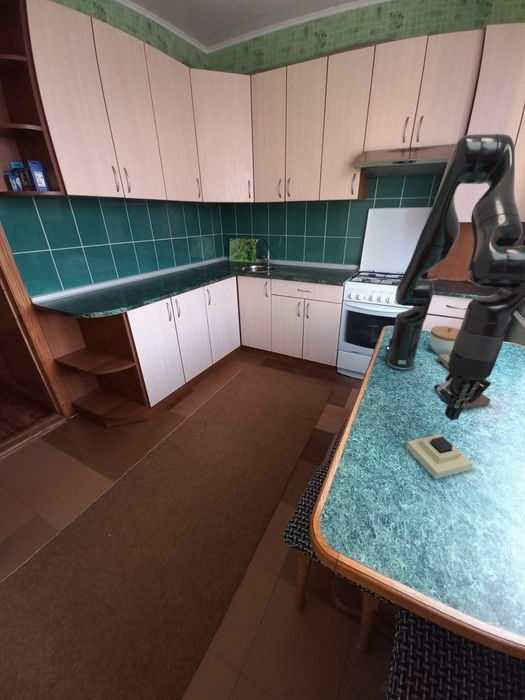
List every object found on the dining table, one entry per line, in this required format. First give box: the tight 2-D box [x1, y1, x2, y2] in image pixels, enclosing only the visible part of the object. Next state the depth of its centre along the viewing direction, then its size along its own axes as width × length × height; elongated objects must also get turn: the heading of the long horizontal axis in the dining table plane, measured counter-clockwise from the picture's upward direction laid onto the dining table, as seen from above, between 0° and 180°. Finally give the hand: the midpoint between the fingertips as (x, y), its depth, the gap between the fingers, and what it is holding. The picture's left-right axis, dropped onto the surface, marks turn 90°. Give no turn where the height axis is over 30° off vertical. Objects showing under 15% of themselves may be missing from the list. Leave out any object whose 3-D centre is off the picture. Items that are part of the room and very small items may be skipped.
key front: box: [430, 436, 454, 454], centre depth 70 cm, size 3×3×2 cm
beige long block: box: [436, 354, 487, 380], centre depth 107 cm, size 16×8×3 cm, turn 3°
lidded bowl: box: [429, 325, 460, 356], centre depth 119 cm, size 13×13×11 cm
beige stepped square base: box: [405, 433, 474, 480], centre depth 71 cm, size 10×10×4 cm
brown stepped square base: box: [461, 393, 492, 412], centre depth 92 cm, size 10×10×4 cm
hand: (451, 417), depth 66 cm, fingers closed
